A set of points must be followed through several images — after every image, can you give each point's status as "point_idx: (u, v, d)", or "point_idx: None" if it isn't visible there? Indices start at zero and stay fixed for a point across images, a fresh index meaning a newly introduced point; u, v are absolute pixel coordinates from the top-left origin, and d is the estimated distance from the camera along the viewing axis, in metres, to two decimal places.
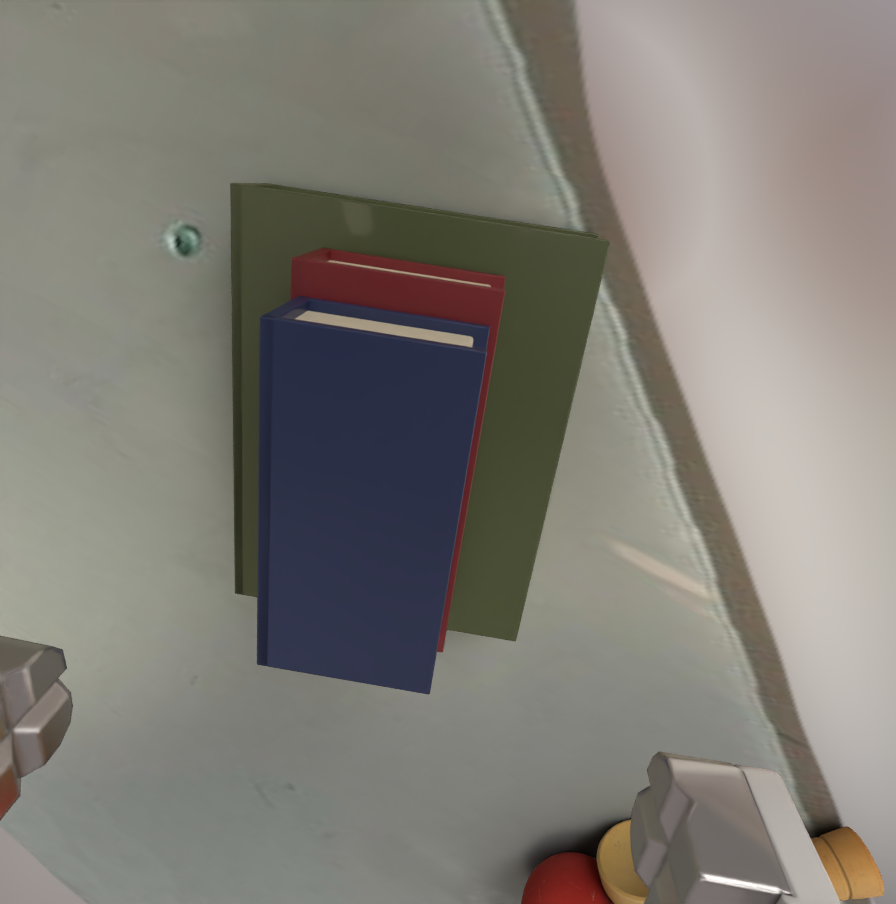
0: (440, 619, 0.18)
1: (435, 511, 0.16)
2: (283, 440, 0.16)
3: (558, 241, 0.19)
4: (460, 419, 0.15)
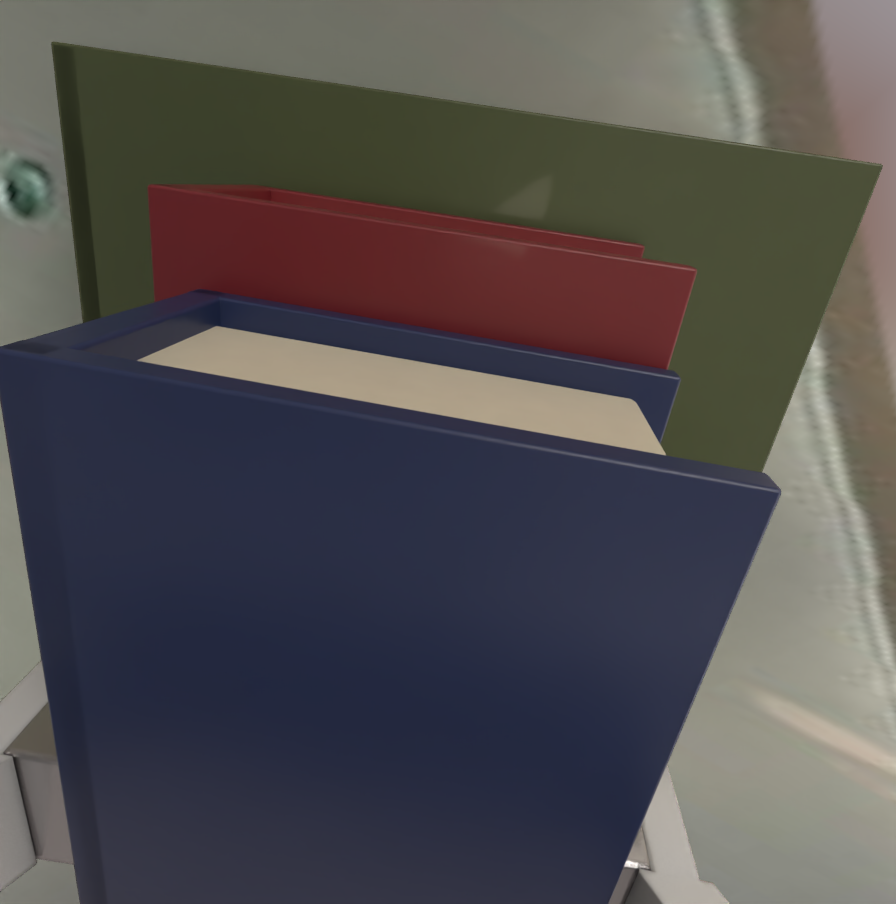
0: None
1: (543, 888, 0.06)
2: (114, 700, 0.05)
3: (766, 166, 0.09)
4: (650, 682, 0.05)
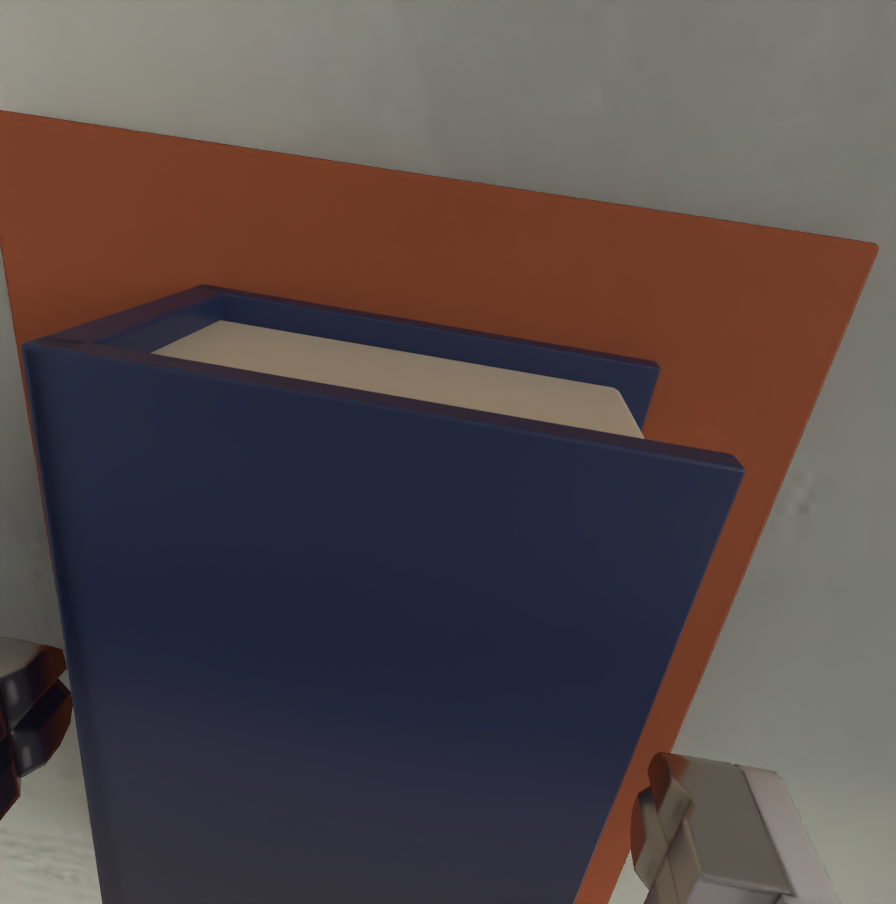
0: None
1: (533, 842, 0.06)
2: (132, 672, 0.06)
3: None
4: (630, 648, 0.05)
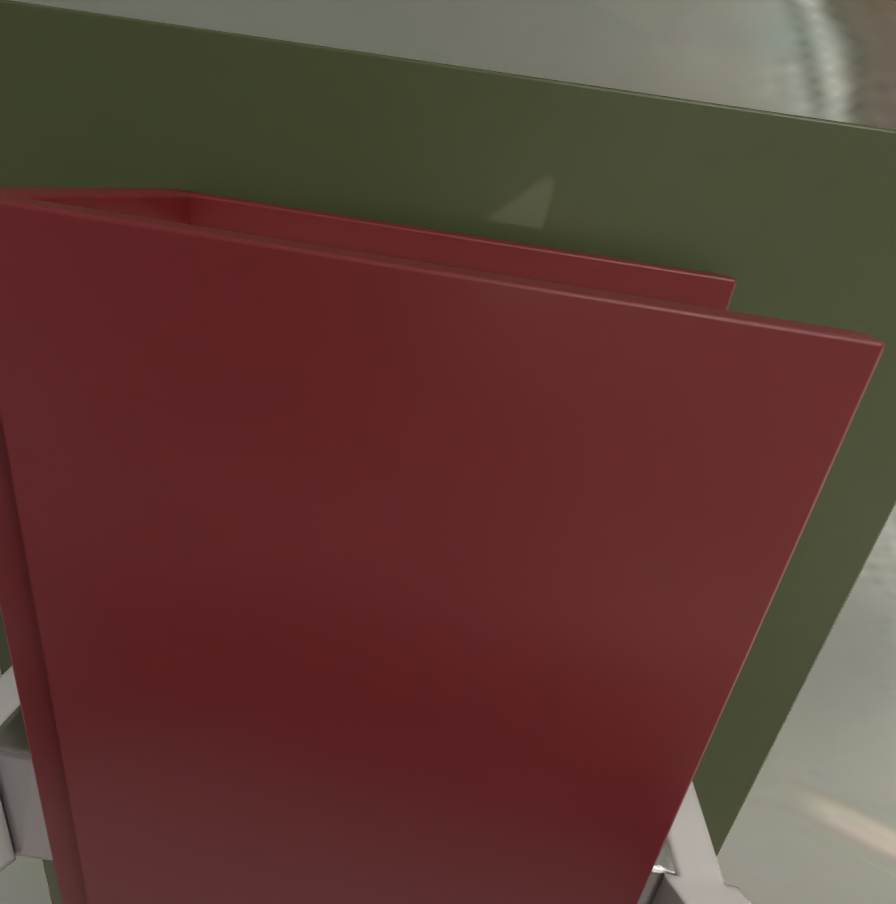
0: None
1: None
2: None
3: (894, 158, 0.06)
4: None
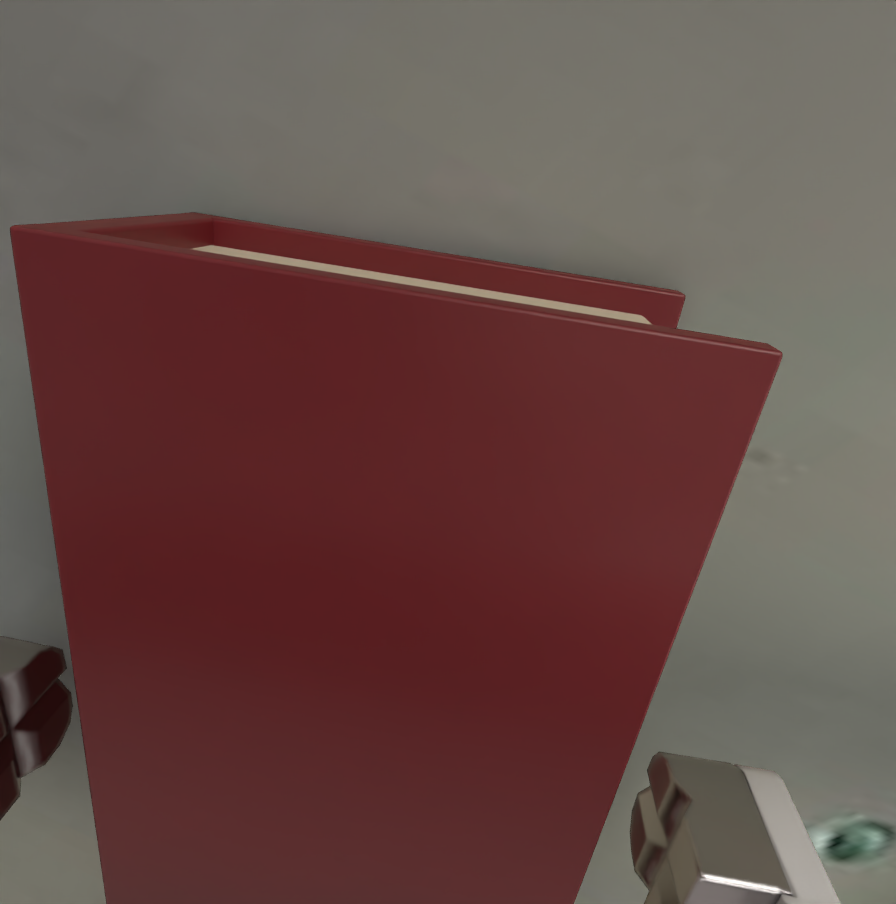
0: None
1: None
2: None
3: None
4: None
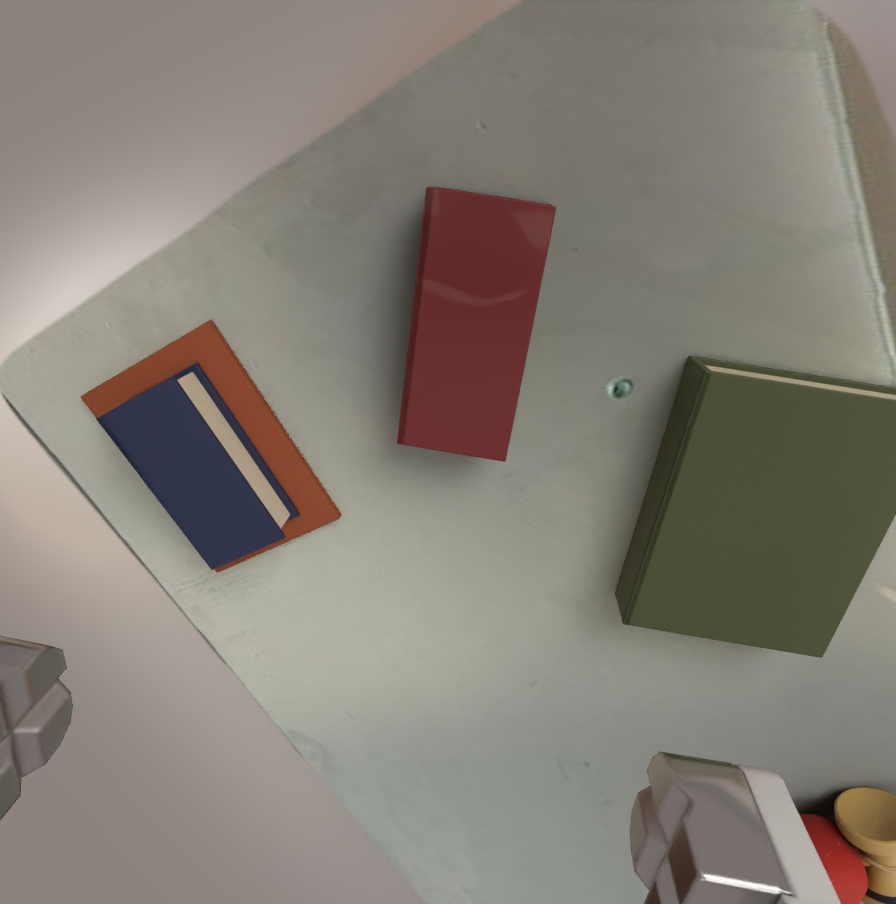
0: (255, 498, 0.35)
1: (211, 451, 0.34)
2: (140, 460, 0.34)
3: None
4: (186, 408, 0.33)
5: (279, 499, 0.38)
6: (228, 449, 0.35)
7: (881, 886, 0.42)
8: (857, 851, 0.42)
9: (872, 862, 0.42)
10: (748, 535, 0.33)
